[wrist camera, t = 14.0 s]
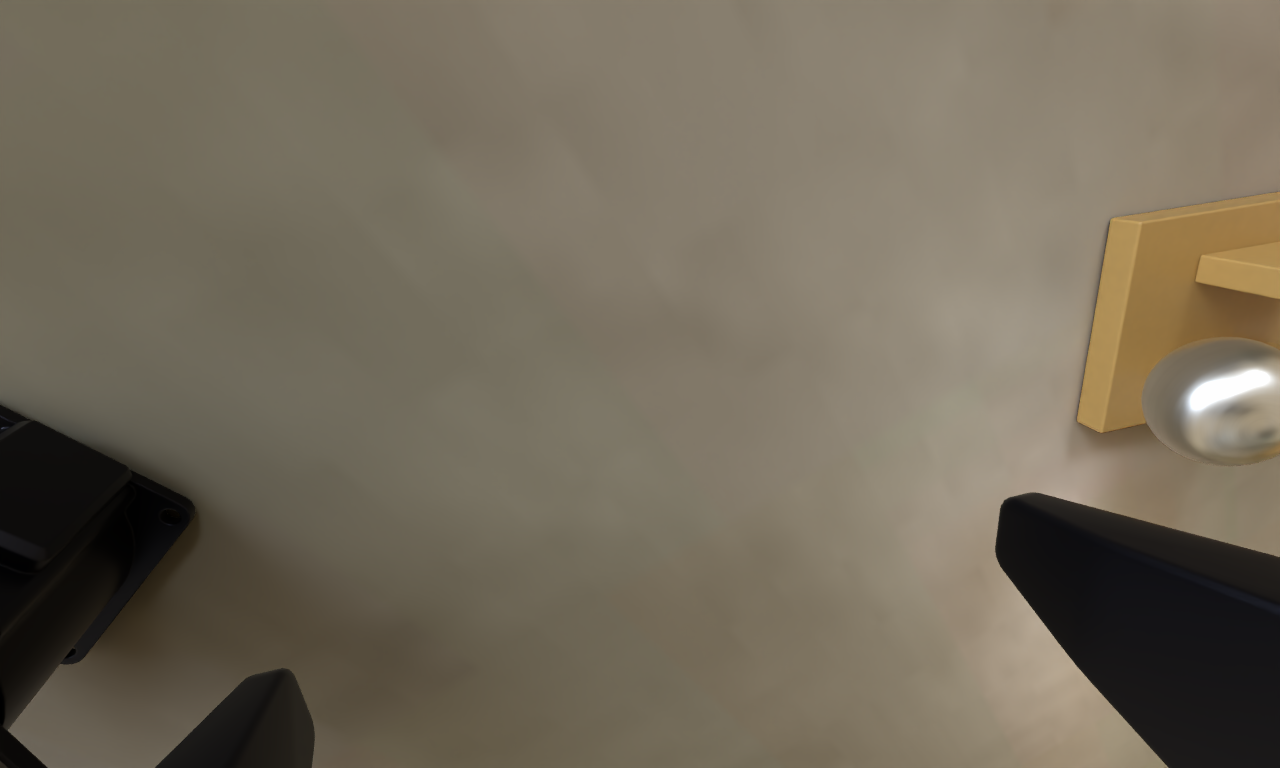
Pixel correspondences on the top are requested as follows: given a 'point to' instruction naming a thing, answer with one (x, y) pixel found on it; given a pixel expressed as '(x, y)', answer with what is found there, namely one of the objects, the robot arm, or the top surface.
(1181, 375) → the tap lever
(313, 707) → the top surface
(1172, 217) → the bracket
